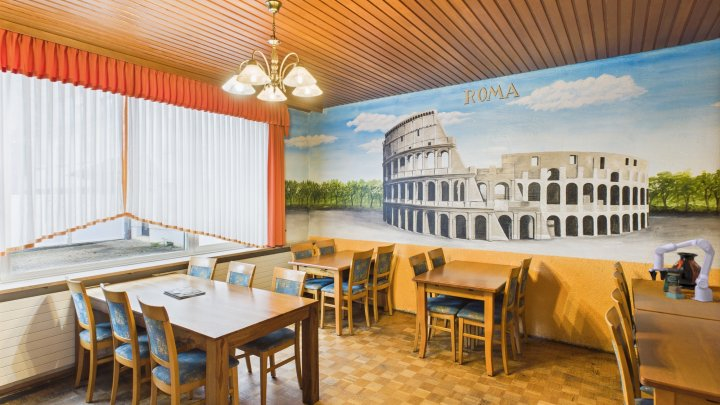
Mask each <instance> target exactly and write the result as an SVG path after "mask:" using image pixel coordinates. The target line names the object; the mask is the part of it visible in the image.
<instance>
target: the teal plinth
mask: <svg viewBox="0 0 720 405" xmlns="http://www.w3.org/2000/svg"><path fill="white" fill-rule="evenodd" d="M665 292H666V291H665ZM665 296H666V297H667V298H671V299H674V300H683V299H685V294H683V293H681V294H672V293H669V292H666V294H665Z"/></svg>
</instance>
